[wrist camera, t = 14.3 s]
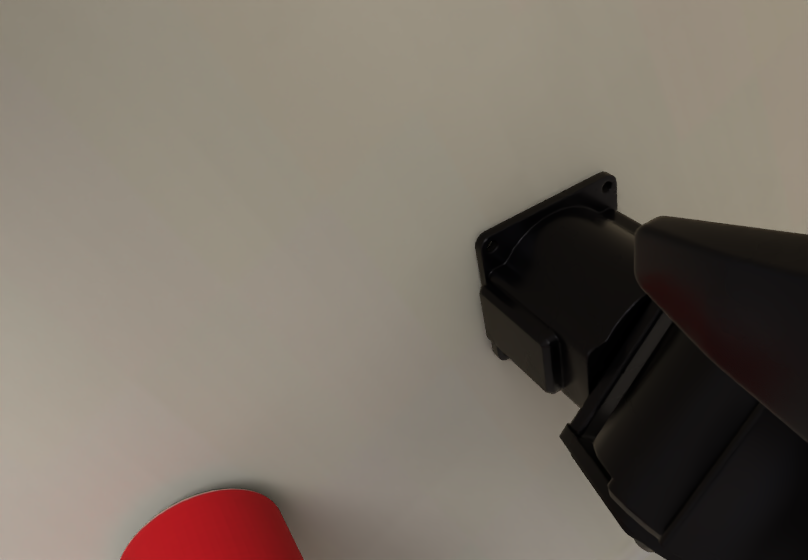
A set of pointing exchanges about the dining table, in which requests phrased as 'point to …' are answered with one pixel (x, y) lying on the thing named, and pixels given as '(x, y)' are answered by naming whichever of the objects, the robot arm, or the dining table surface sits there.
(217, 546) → the beverage can
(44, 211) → the dining table surface
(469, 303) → the dining table surface
